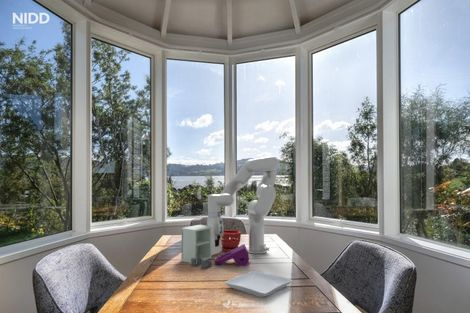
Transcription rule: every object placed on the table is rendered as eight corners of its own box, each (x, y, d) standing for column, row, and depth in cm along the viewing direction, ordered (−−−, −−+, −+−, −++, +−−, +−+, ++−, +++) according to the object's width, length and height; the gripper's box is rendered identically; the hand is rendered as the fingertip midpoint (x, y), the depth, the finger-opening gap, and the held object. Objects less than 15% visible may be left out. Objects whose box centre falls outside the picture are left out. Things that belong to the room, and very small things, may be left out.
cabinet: (211, 258, 180) (211, 226, 181) (194, 263, 168) (195, 230, 169) (198, 255, 186) (198, 224, 187) (181, 260, 174) (181, 228, 175)
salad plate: (253, 276, 148) (253, 269, 149) (293, 287, 135) (292, 279, 135) (223, 289, 132) (223, 281, 132) (265, 302, 119) (265, 293, 119)
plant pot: (240, 253, 191) (240, 233, 192) (219, 252, 192) (219, 233, 192) (240, 247, 204) (240, 229, 205) (220, 247, 205) (220, 229, 205)
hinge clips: (211, 266, 163) (211, 258, 163) (204, 269, 159) (204, 261, 159) (198, 263, 169) (198, 256, 169) (191, 266, 164) (191, 258, 164)
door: (218, 250, 193) (218, 227, 193) (223, 251, 191) (222, 228, 191) (208, 254, 185) (207, 230, 185) (212, 255, 183) (212, 230, 183)
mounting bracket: (220, 277, 164) (251, 262, 164) (213, 263, 164) (244, 248, 165) (221, 272, 173) (250, 257, 174) (215, 258, 174) (244, 243, 174)
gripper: (228, 214, 188) (229, 246, 187) (208, 213, 197) (208, 243, 196) (221, 216, 181) (221, 248, 181) (200, 215, 191) (200, 245, 190)
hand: (215, 245), depth 188 cm, fingers closed on door, 2 cm apart
